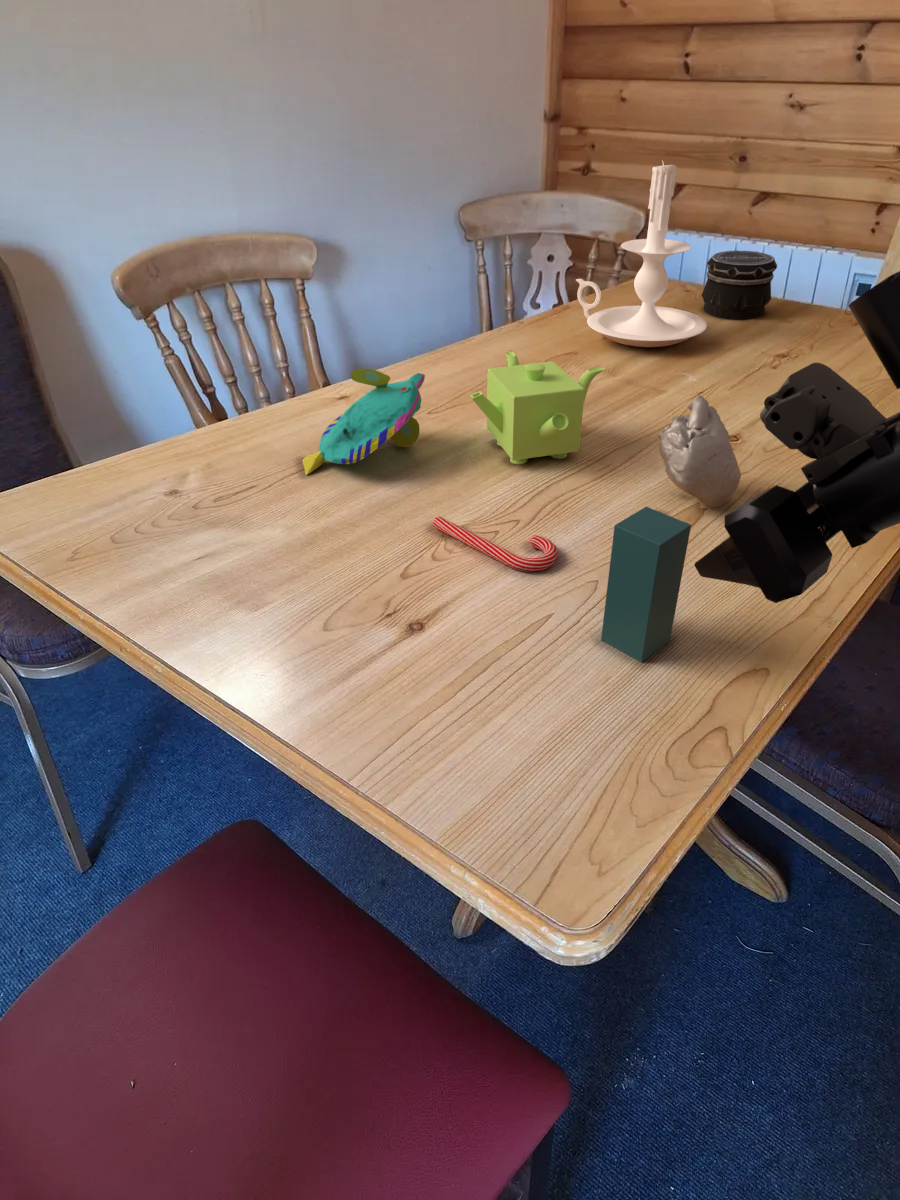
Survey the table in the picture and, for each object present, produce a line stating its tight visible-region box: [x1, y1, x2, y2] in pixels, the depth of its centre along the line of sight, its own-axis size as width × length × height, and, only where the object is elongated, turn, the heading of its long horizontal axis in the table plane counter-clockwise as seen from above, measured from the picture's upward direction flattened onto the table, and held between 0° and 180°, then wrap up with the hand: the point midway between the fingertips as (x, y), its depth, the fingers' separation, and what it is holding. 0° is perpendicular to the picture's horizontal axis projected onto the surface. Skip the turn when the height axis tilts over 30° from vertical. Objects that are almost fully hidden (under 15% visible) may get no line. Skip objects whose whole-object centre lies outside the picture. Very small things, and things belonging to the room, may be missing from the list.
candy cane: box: [432, 516, 559, 572], centre depth 84 cm, size 6×15×2 cm, turn 44°
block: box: [600, 506, 692, 663], centre depth 66 cm, size 4×4×12 cm
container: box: [701, 250, 778, 320], centre depth 148 cm, size 13×13×10 cm
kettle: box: [469, 350, 606, 465], centre depth 100 cm, size 15×14×11 cm
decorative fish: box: [302, 368, 426, 476], centre depth 99 cm, size 20×12×15 cm
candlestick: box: [575, 160, 708, 348], centre depth 131 cm, size 21×25×28 cm
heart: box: [658, 394, 742, 508], centre depth 87 cm, size 10×10×12 cm
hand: (732, 545), depth 58 cm, fingers open, 9 cm apart
